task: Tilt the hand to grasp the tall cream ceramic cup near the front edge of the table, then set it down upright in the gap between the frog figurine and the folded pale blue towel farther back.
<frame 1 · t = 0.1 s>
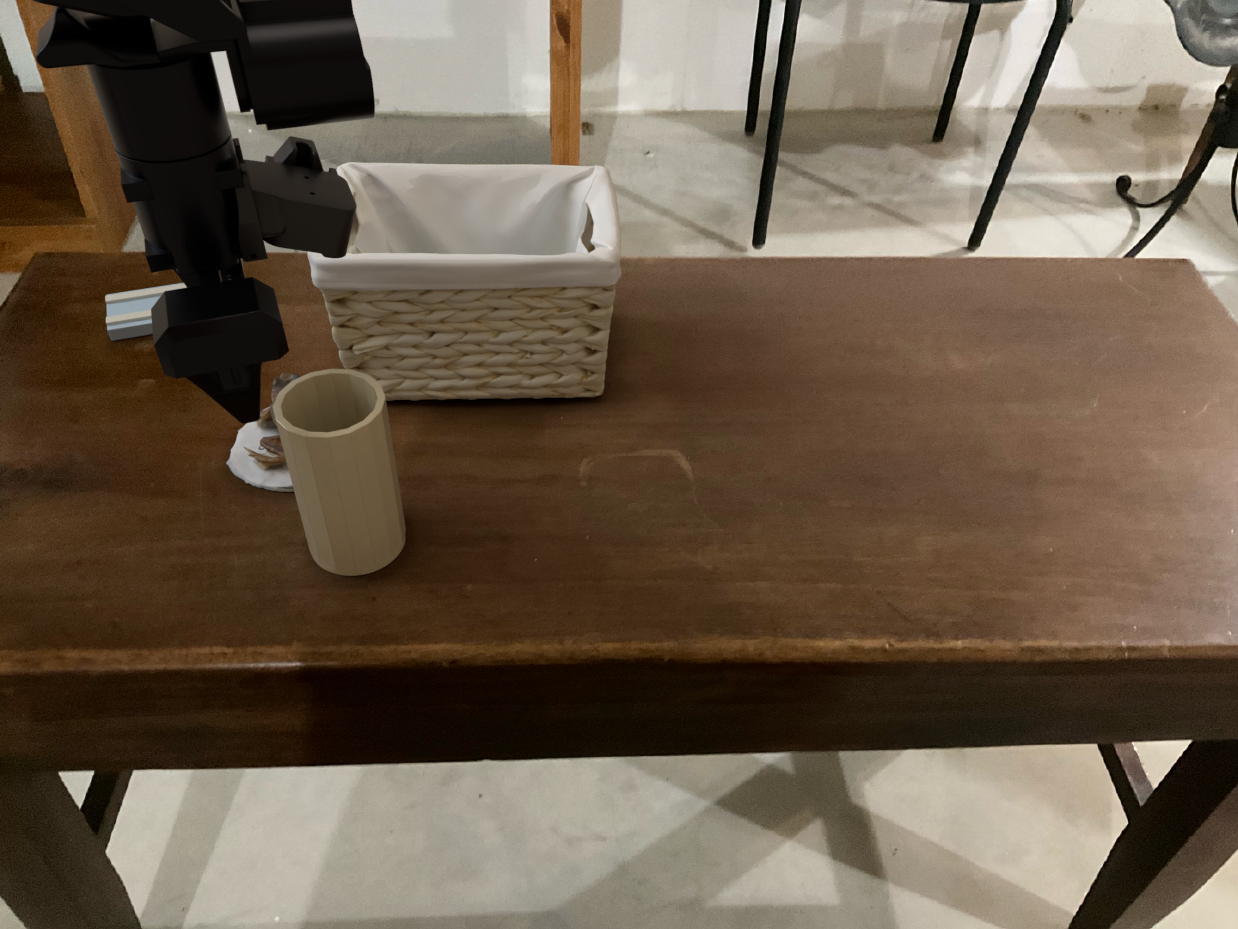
hand: (242, 375, 60), 14 cm above the table, tool pointing down, fingers open, 9 cm apart
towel: (169, 313, 89), on the table
frog figurine: (304, 444, 77), on the table
basket: (480, 355, 86), on the table
cup: (358, 540, 69), on the table
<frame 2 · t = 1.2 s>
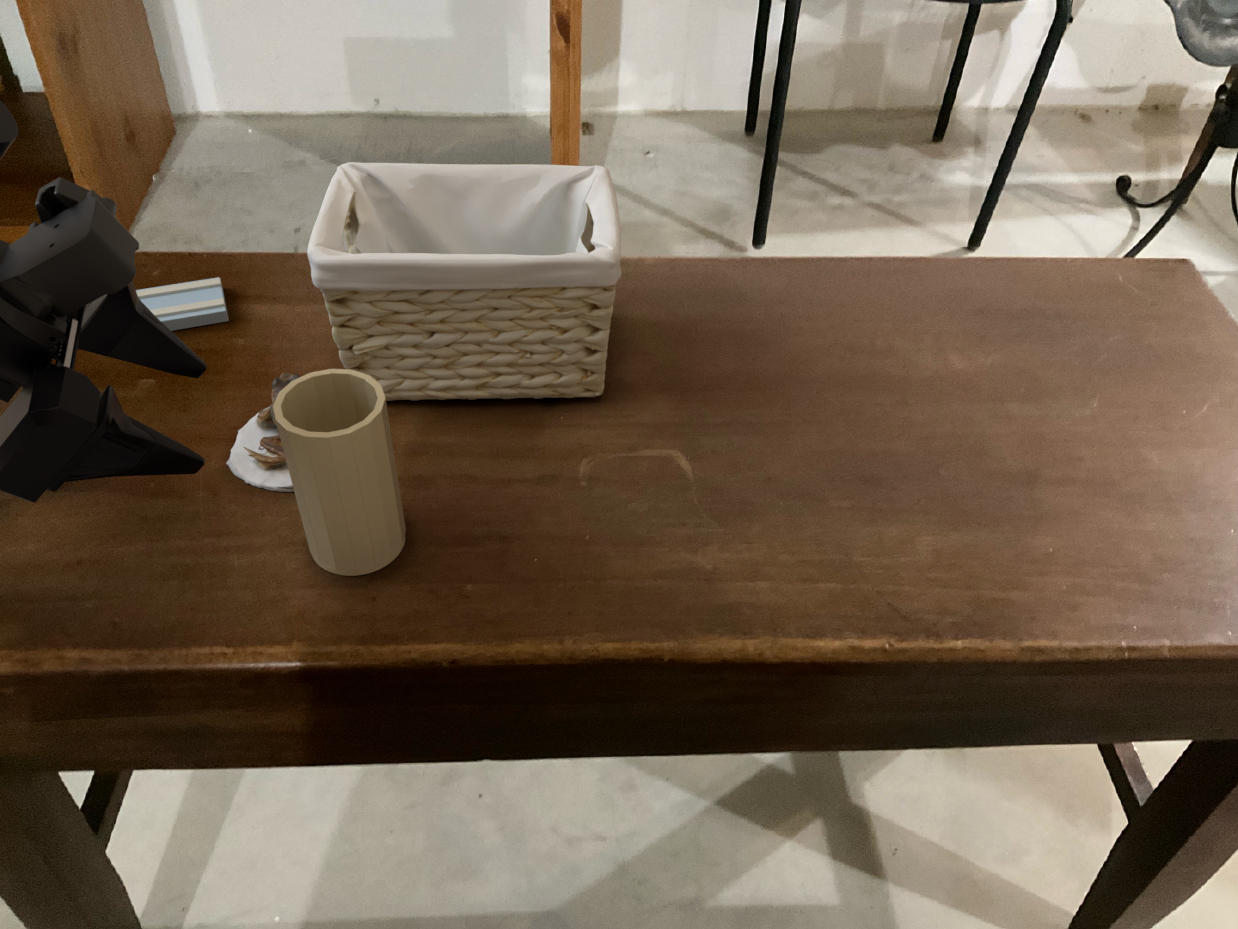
hand: (202, 416, 59), 13 cm above the table, tool tilted 45°, fingers open, 9 cm apart
nothing on the table moved.
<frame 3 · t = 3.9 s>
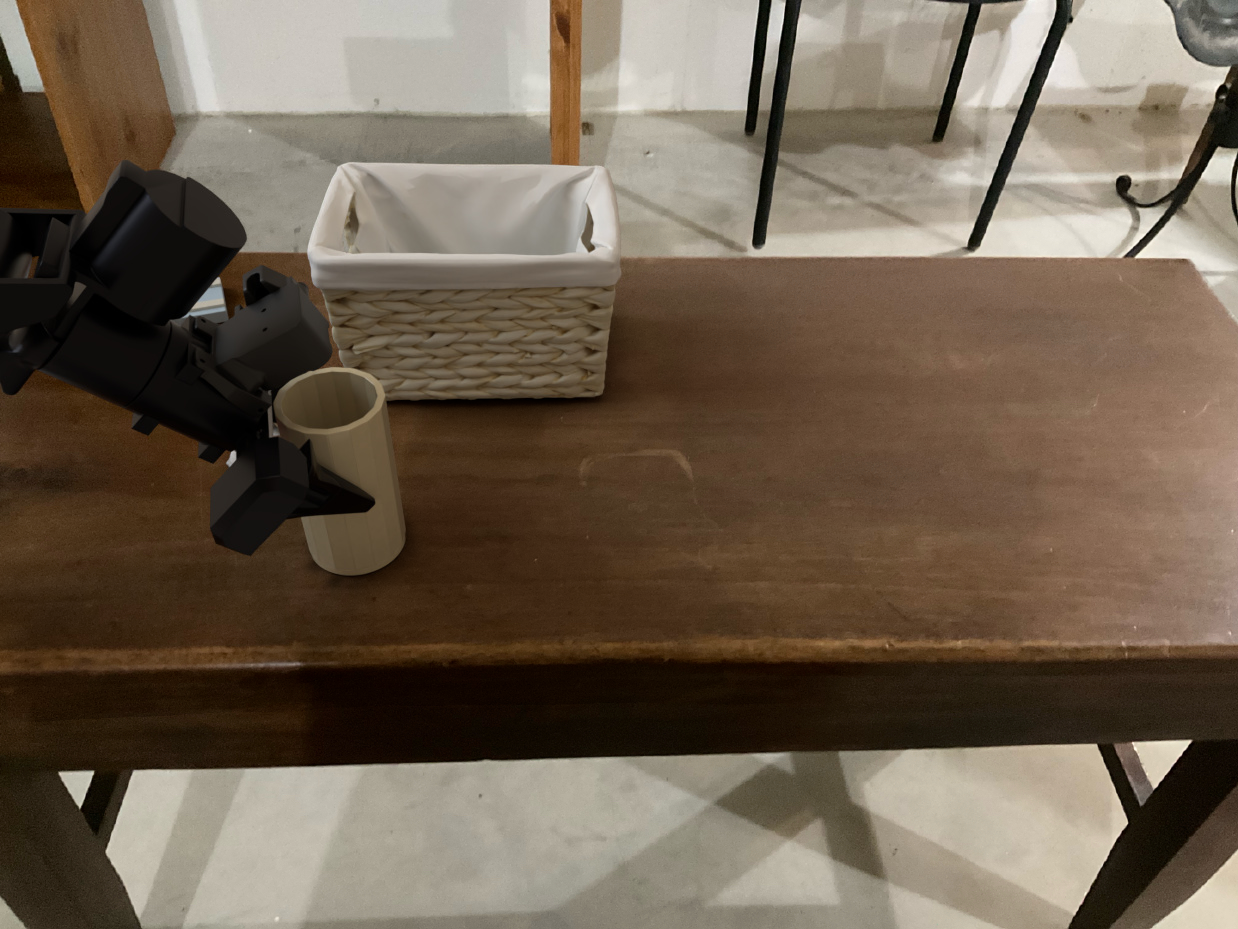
hand: (366, 469, 65), 7 cm above the table, tool tilted 45°, fingers closed on cup, 7 cm apart
cup: (358, 540, 69), on the table, touching gripper
everything else where it was.
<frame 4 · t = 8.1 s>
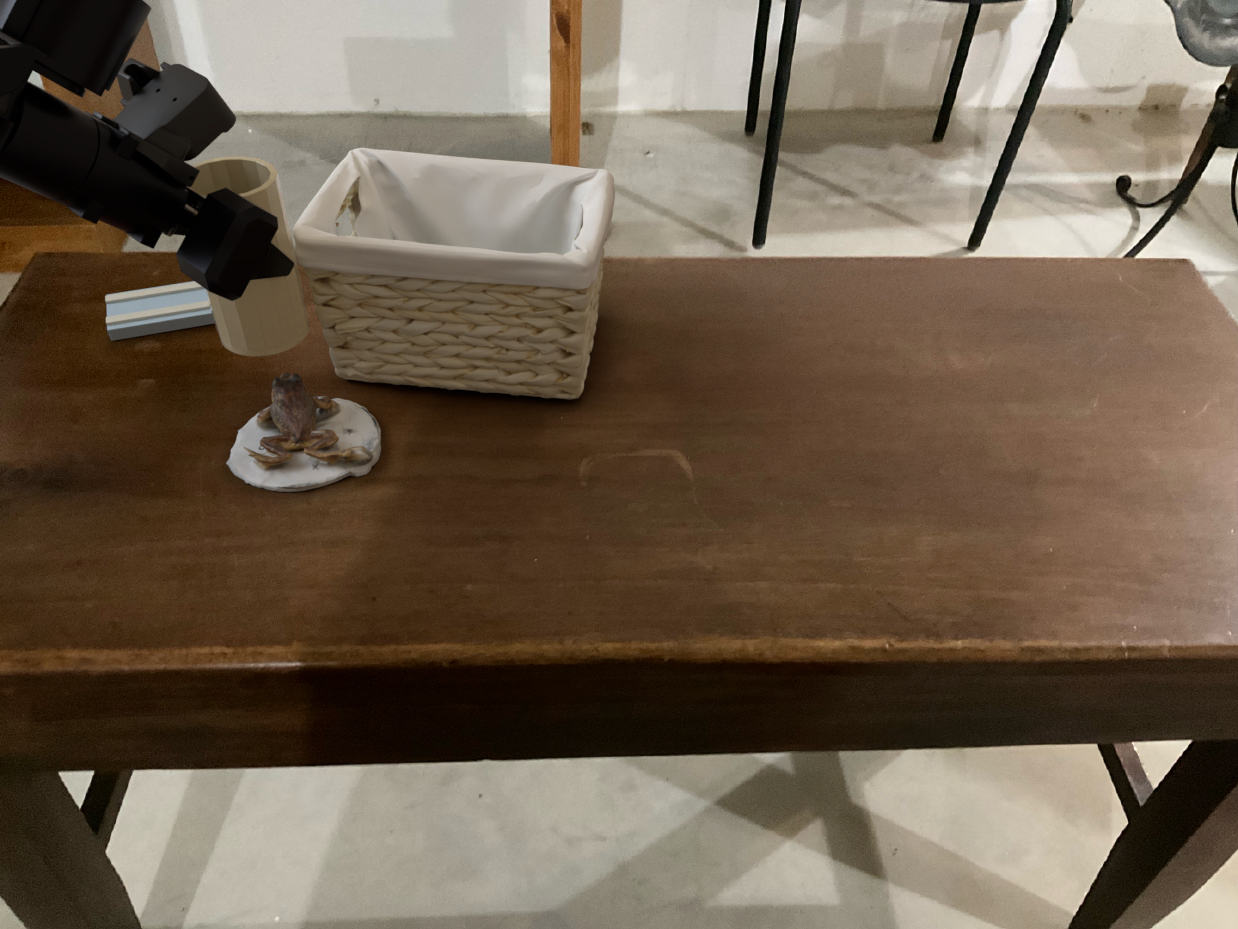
hand: (262, 250, 72), 13 cm above the table, tool tilted 45°, fingers closed on cup, 7 cm apart
basket: (472, 347, 87), on the table
cup: (265, 331, 76), point 7 cm above the table, touching gripper
everything else where it was.
when the fingers open (7 cm above the table, at t = 11.7 s): cup stays where it is, on the table.
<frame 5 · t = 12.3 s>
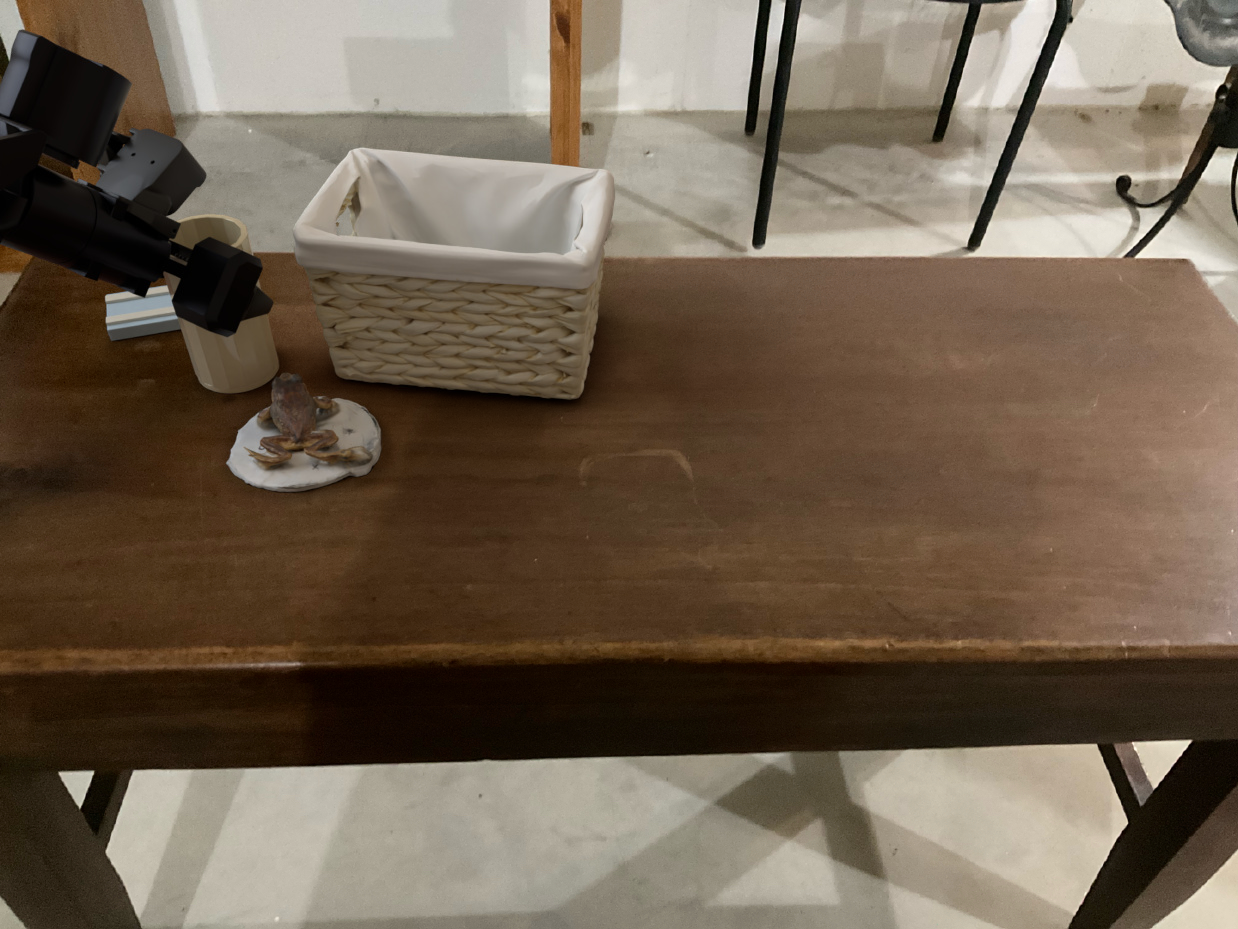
hand: (229, 288, 79), 7 cm above the table, tool tilted 45°, fingers open, 9 cm apart
cup: (238, 369, 83), on the table
everything else where it was.
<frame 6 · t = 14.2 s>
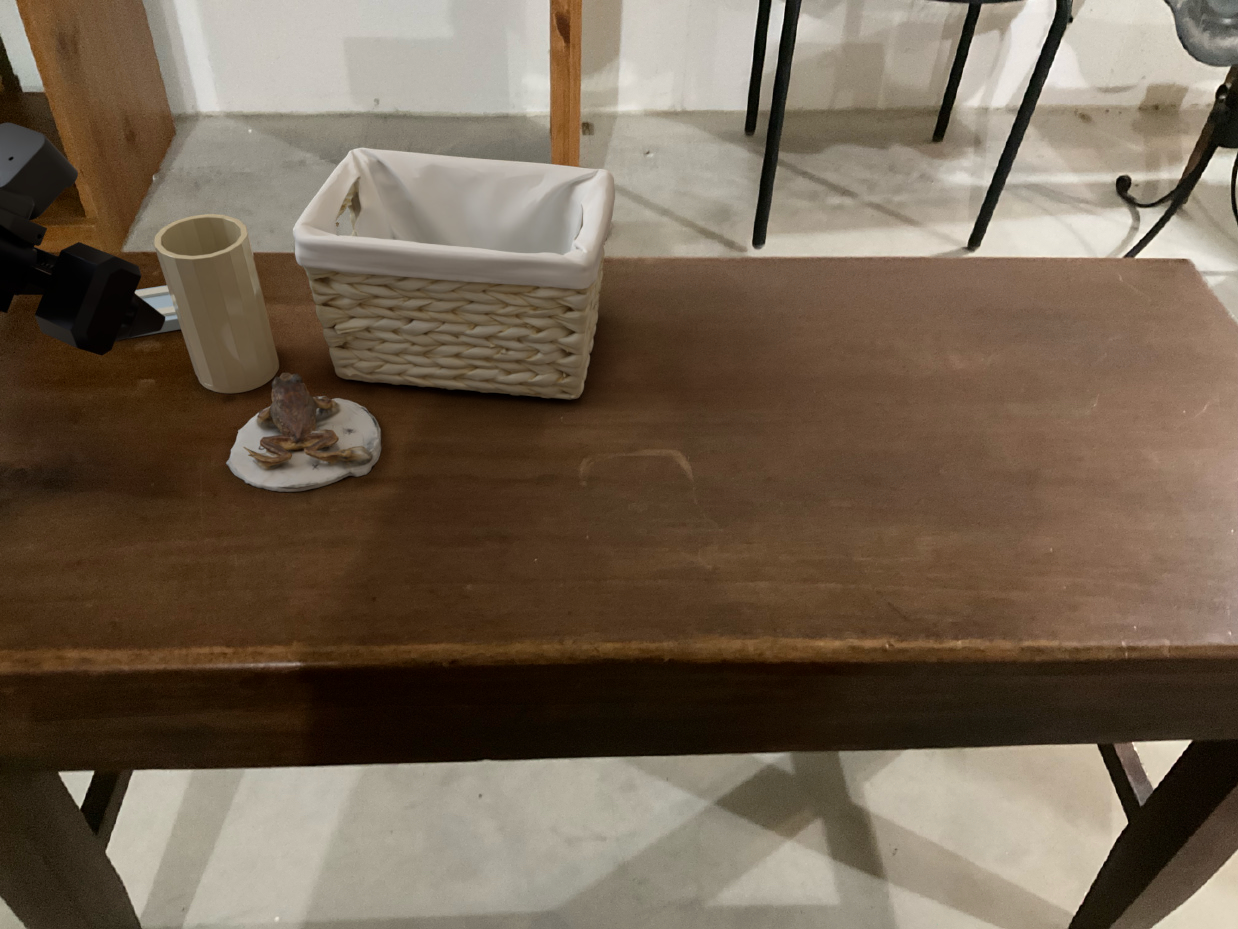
hand: (117, 305, 71), 11 cm above the table, tool tilted 45°, fingers open, 9 cm apart
nothing on the table moved.
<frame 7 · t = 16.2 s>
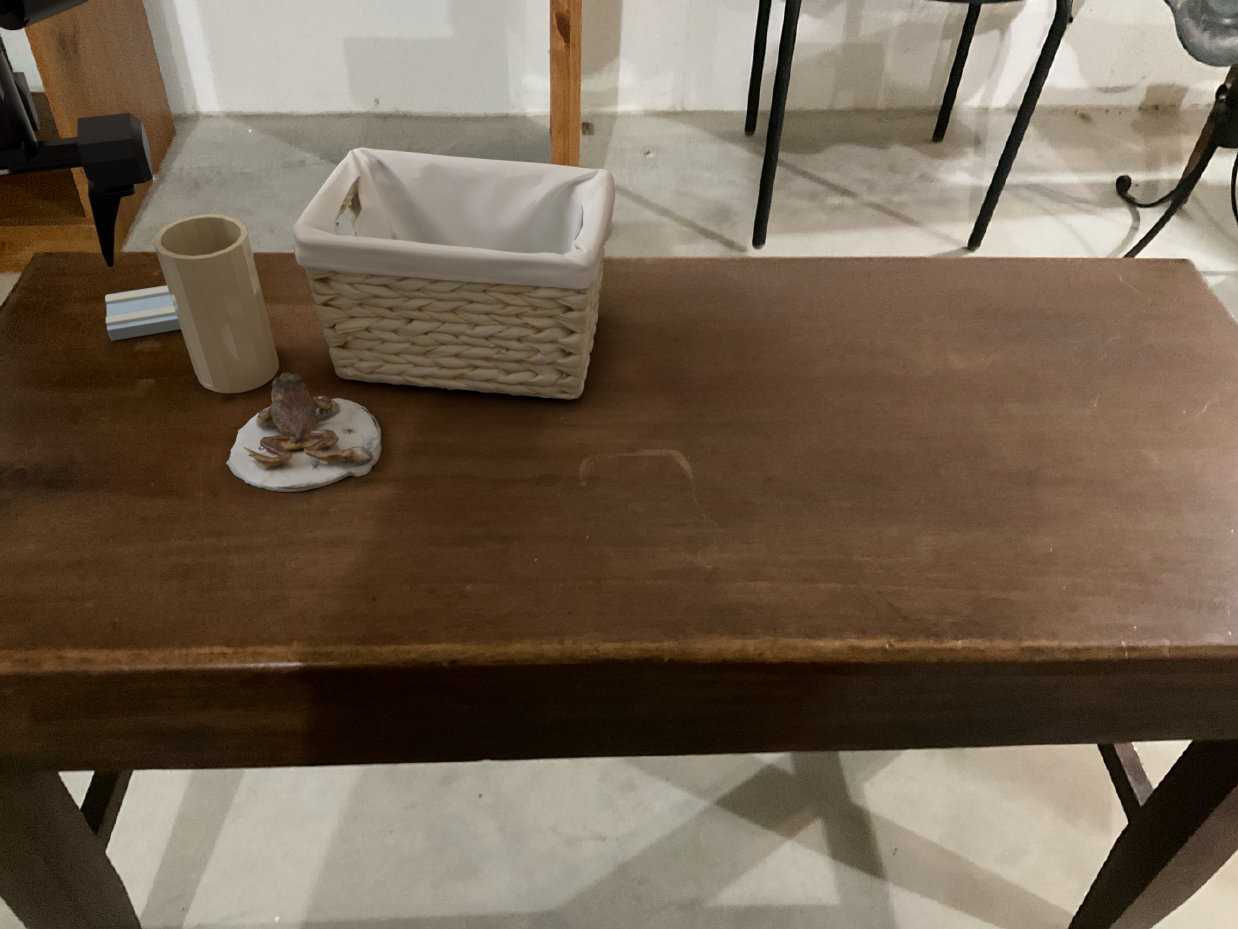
hand: (42, 274, 69), 13 cm above the table, tool pointing down, fingers open, 9 cm apart
nothing on the table moved.
at the end: cup 0.1 cm from the target spot on the table beside the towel, on the table; cup tilted 0°; the gripper is holding nothing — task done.
